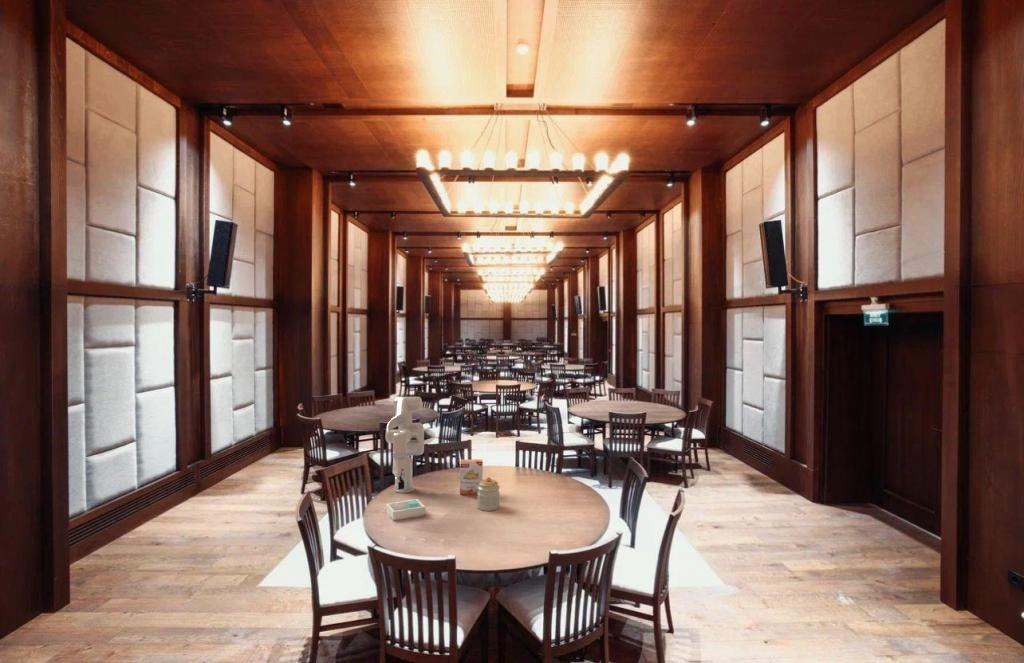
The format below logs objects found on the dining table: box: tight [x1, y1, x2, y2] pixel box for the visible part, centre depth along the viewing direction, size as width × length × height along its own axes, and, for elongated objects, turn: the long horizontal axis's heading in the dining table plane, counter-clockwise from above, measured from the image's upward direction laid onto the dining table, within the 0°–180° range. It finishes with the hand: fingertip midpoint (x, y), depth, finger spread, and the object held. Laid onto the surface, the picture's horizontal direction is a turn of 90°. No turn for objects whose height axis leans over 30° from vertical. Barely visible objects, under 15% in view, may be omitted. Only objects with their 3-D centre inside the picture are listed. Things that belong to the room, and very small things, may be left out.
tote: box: [385, 498, 426, 522], centre depth 297 cm, size 14×18×5 cm
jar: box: [476, 476, 501, 512], centre depth 309 cm, size 13×13×18 cm
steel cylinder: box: [394, 475, 404, 491], centre depth 295 cm, size 5×5×7 cm
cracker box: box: [459, 458, 484, 496], centre depth 333 cm, size 14×6×21 cm, turn 96°
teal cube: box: [407, 499, 418, 509], centre depth 299 cm, size 5×5×5 cm
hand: (399, 487), depth 295 cm, fingers closed on steel cylinder, 4 cm apart
